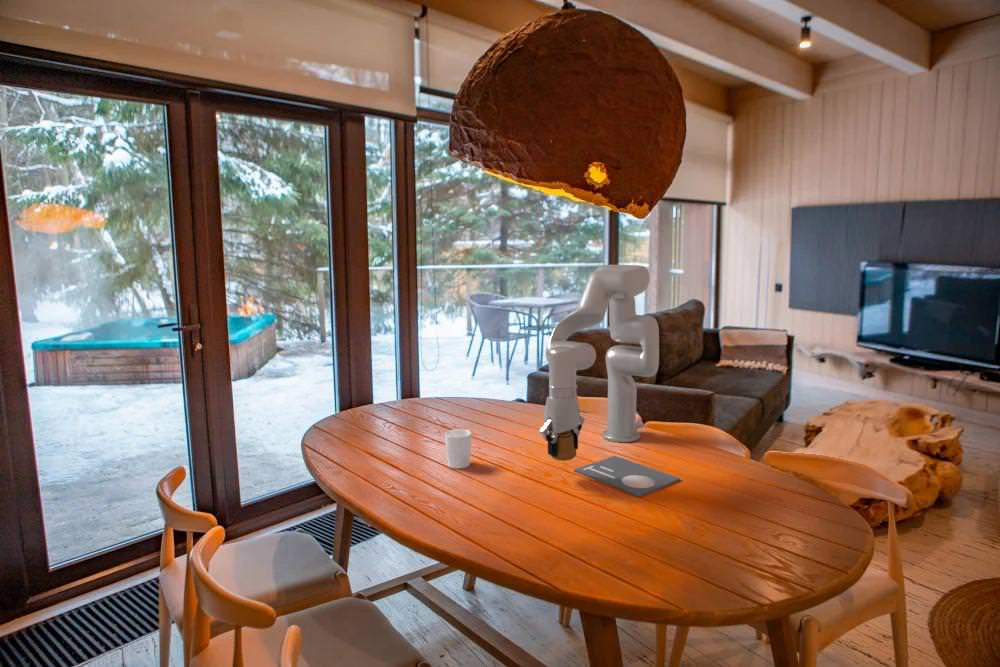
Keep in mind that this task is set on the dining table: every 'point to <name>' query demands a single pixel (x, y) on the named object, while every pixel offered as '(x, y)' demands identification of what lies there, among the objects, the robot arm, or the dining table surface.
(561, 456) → the ornamental finial
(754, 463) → the dining table surface
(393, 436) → the dining table surface
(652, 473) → the slate board
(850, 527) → the dining table surface
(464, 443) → the white cup
